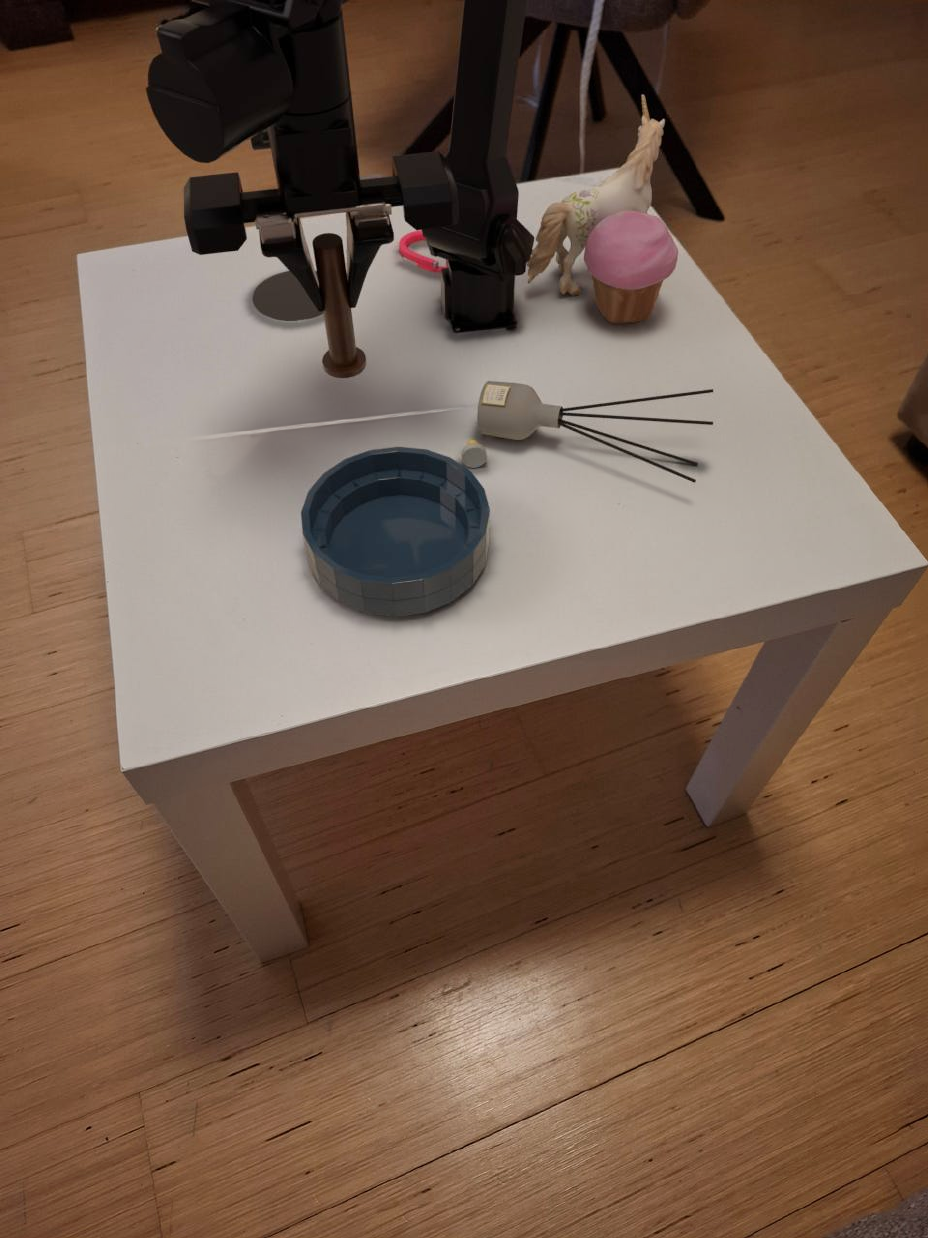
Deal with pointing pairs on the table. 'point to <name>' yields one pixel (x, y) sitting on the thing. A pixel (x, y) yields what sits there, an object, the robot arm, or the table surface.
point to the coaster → (284, 299)
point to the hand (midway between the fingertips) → (336, 306)
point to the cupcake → (629, 264)
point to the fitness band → (414, 257)
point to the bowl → (396, 531)
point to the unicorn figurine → (597, 206)
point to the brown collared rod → (336, 308)
